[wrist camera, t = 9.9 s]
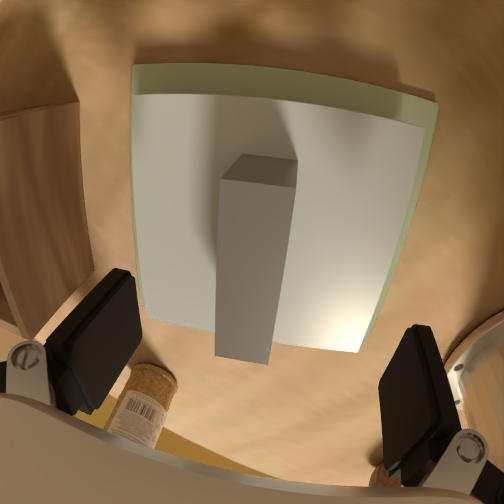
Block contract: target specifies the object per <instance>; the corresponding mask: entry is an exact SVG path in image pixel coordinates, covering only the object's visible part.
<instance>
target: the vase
mask: <svg viewBox="0 0 504 504" xmlns="http://www.w3.org/2000/svg"><path fill="white" fill-rule="evenodd" d="M401 486H402V484H401V478H389V475H388V470H385V468H384V461H383V462H381V463H380V464H379V465H378V466H377V467H376V469H375V470H374V471H373V473H372V475H371V478H370V481H369V487H401Z"/></svg>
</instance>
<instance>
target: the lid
mask: <svg viewBox="0 0 504 504" xmlns="http://www.w3.org/2000/svg"><path fill="white" fill-rule="evenodd" d="M424 132H425V128H423V127H420V126H418V125H414V124H410V123H406V122H403V121H399V120H395V119H390V118H386V117H382V116H377V115H373V114H368V113H363V112H358V111H353V110H348V109H343V108H337V107H331V106H325V105H319V104H312V103H305V102H298V101H290V100H282V99H273V98H263V97H252V96H239V95H222V94H195V93H154V94H136V95H132V165H133V189H134V206H135V220H136V232H137V243H138V253H139V263H140V271H141V280H142V288H143V295H144V302H145V309H146V316H147V319H151V320H156V321H160V322H165V323H169V324H174V325H179V326H184V327H189V328H194V329H199V330H204V331H209V332H215V356H219V357H224V358H230V359H235V360H241V361H247V362H253V363H260V364H266V365H268V361H269V355H270V350H271V344H272V342H275V343H282V344H289V345H297V346H304V347H312V348H321V349H329V350H338V351H348V352H358V350H359V348H360V345H361V343H362V341H363V338H364V336H365V333H366V331H367V328H368V326H369V323H370V321H371V318H372V315H373V313H374V310H375V308H376V305H377V302H378V299H379V297H380V294H381V291H382V288H383V285H384V283H385V280H386V277H387V274H388V271H389V268H390V265H391V262H392V259H393V256H394V252H395V249H396V246H397V243H398V239H399V236H400V233H401V229H402V226H403V222H404V219H405V215H406V211H407V207H408V204H409V200H410V196H411V192H412V188H413V184H414V180H415V175H416V171H417V166H418V162H419V157H420V152H421V147H422V142H423V137H424Z"/></svg>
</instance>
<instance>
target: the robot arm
mask: <svg viewBox="0 0 504 504" xmlns="http://www.w3.org/2000/svg"><path fill="white" fill-rule="evenodd" d="M141 339H142V328H141V321H140V314H139V307H138V300H137V292H136V283H135V278H134V277H133V276H131V273H130V272H129V271H127V270H122V269H118V268H114V269H112V270H111V271H110V272H109V273H108V274H107V275H106V276H105V277H104V278H103V279H102V280H101V281H100V282H99V283H98V284H97V285H96V286H95V287H94V288H93V289H92V290H91V291H90V293H89V294H88V295H87V296H86V297H85V298H84V299H83V300H82V301H81V302H80V303H79V304H78V305H77V306H76V307H75V308H74V309H73V311H72V312H71V313H70V314H69V315H68V316H67V317H66V318H65V319H64V320H63V321H62V322H61V324H60V325H59V326H58V327H57V328H56V329H55V330H54V331H53V332H52V334H51V335H50V336H49V337H48V338H47V339H46V343H45V344H44V345H42V344H41V343H39V342H37V341H33V340H29V341H23V342H20V343H19V344H17V345H15V346H14V347H13V348H12V349H11V351H10V352H9V354H8V357H7V361H4V362H0V504H504V311H502V312H500V313H498V314H496V315H495V316H493V317H492V318H490V319H488V320H487V321H485V322H484V323H483V324H482V325H480V326H479V327H478V328H476V329H475V330H474V331H473V332H472V333H471V334H470V335H469V336H467V337H466V338H465V339H464V340H463V341H462V342H461V344H460V345H459V346H458V347H457V348H456V349H455V350H454V352H453V353H452V355H451V356H450V358H449V359H448V360H447V362H446V364H445V366H444V365H443V362H442V359H441V356H440V353H439V350H438V347H437V344H436V341H435V338H434V335H433V332H432V330H431V328H430V326H425V325H418V324H414V325H413V326H412V327H411V328H407V330H406V331H405V333H404V335H403V337H402V339H401V341H400V343H399V345H398V347H397V349H396V351H395V353H394V355H393V357H392V359H391V361H390V363H389V364H388V366H387V368H386V370H385V372H384V374H383V375H382V377H381V379H380V382H379V386H378V390H379V400H380V411H381V423H382V436H383V453H384V468H385V470H388V475H389V478H401V484H402V486H401V487H358V486H337V485H323V484H313V483H303V482H295V481H287V480H280V479H273V478H267V477H262V476H256V475H250V474H245V473H240V472H235V471H231V470H226V469H222V468H218V467H214V466H210V465H206V464H202V463H198V462H194V461H191V460H187V459H184V458H181V457H177V456H174V455H171V454H167V453H164V452H161V451H158V450H155V449H152V448H149V447H146V446H144V445H141V444H138V443H135V442H133V441H130V440H127V439H125V438H122V437H120V436H117V435H115V434H112V433H110V432H107V431H105V430H103V429H100V428H98V427H96V426H93V425H91V424H88V423H86V422H84V421H82V420H80V419H77V418H76V417H75V414H76V413H77V411H78V410H80V411H82V412H85V413H86V414H89V415H91V414H92V412H93V411H94V409H98V408H99V407H100V406H101V405H102V403H103V401H104V400H105V398H106V396H107V395H108V393H109V391H110V390H111V388H112V387H113V385H114V383H115V382H116V380H117V378H118V377H119V375H120V374H121V372H122V370H123V369H124V367H125V366H126V364H127V362H128V361H129V359H130V358H131V356H132V355H133V353H134V351H135V350H136V348H137V347H138V345H139V344H140V342H141ZM457 410H464V412H465V416H466V419H467V423H468V426H469V429H463V430H462V428H461V424H460V420H459V416H458V412H457Z"/></svg>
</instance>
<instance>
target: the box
mask: <svg viewBox="0 0 504 504" xmlns="http://www.w3.org/2000/svg"><path fill="white" fill-rule="evenodd" d="M93 271H94V266H93V260H92V254H91V248H90V242H89V235H88V228H87V220H86V212H85V203H84V194H83V183H82V170H81V154H80V128H79V102H74V103H63V104H54V105H46V106H38V107H31V108H24V109H18V110H12V111H7V112H1V113H0V327H2V328H4V329H7V330H8V331H11V332H13V333H15V334H17V335H19V336H21V337H23V338H25V339H28V340H32V339H33V338H34V337H35V336H36V335H37V334H38V332H39V331H40V330H41V329H42V328H43V326H44V325H45V324H46V323H47V322H48V321H49V319H50V318H51V317H52V316H53V315H54V314H55V312H56V311H57V310H58V309H59V308H60V307H61V306H62V304H63V303H64V302H65V301H66V300H67V299H68V298H69V297H70V296H71V294H72V293H73V292H74V291H75V290H76V289H77V288H78V287H79V286H80V285H81V284H82V282H83V281H84V280H85V279H86V278H87V277H88V276H89V275H90V274H91V273H92V272H93Z"/></svg>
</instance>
